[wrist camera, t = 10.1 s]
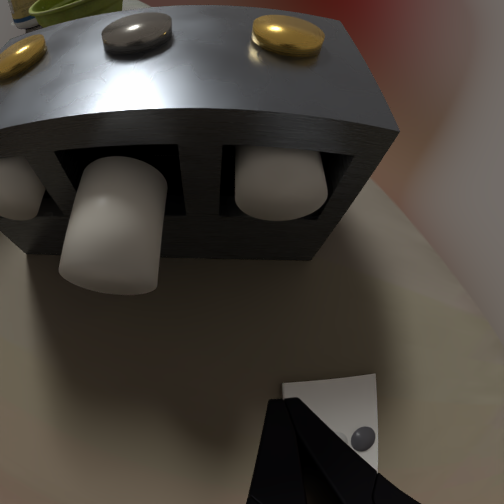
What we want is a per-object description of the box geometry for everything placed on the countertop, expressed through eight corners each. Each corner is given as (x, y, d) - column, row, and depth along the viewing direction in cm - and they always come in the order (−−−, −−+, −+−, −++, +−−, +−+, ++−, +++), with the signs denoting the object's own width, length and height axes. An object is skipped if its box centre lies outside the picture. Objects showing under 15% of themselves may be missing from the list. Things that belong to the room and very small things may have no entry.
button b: (164, 296, 10) (145, 262, 7) (81, 292, 10) (41, 258, 7) (171, 208, 12) (162, 154, 9) (96, 208, 11) (70, 159, 9)
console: (310, 260, 17) (408, 118, 7) (25, 253, 15) (-80, 141, 5) (296, 150, 20) (343, 11, 11) (58, 151, 18) (7, 30, 9)
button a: (312, 222, 12) (340, 173, 9) (232, 219, 12) (238, 166, 9) (303, 155, 14) (322, 103, 11) (232, 151, 13) (238, 95, 10)
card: (374, 490, 12) (377, 491, 12) (285, 508, 11) (286, 510, 11) (372, 373, 15) (376, 373, 14) (282, 382, 14) (283, 382, 14)
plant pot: (151, 60, 24) (145, -21, 16) (56, 102, 21) (29, 22, 13) (122, 31, 26) (115, -32, 18) (45, 64, 23) (27, 2, 15)
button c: (50, 220, 11) (15, 175, 8) (-2, 221, 11) (-37, 182, 8) (71, 155, 12) (48, 107, 9) (21, 161, 12) (-4, 119, 9)
